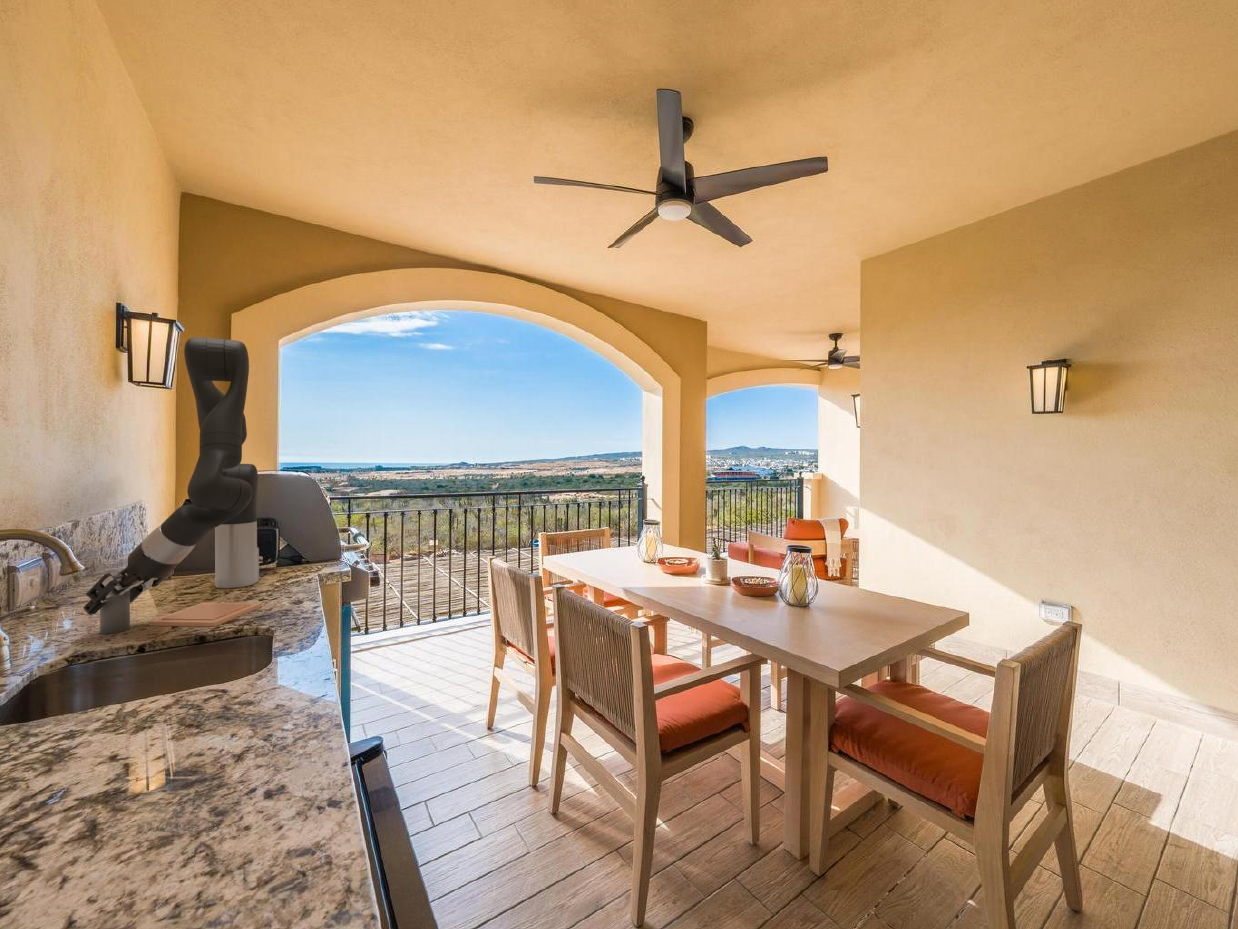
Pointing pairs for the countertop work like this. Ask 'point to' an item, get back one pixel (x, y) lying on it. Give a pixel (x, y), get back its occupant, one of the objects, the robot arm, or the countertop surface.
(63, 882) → the countertop surface
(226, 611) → the coaster
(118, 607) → the grey tall block
